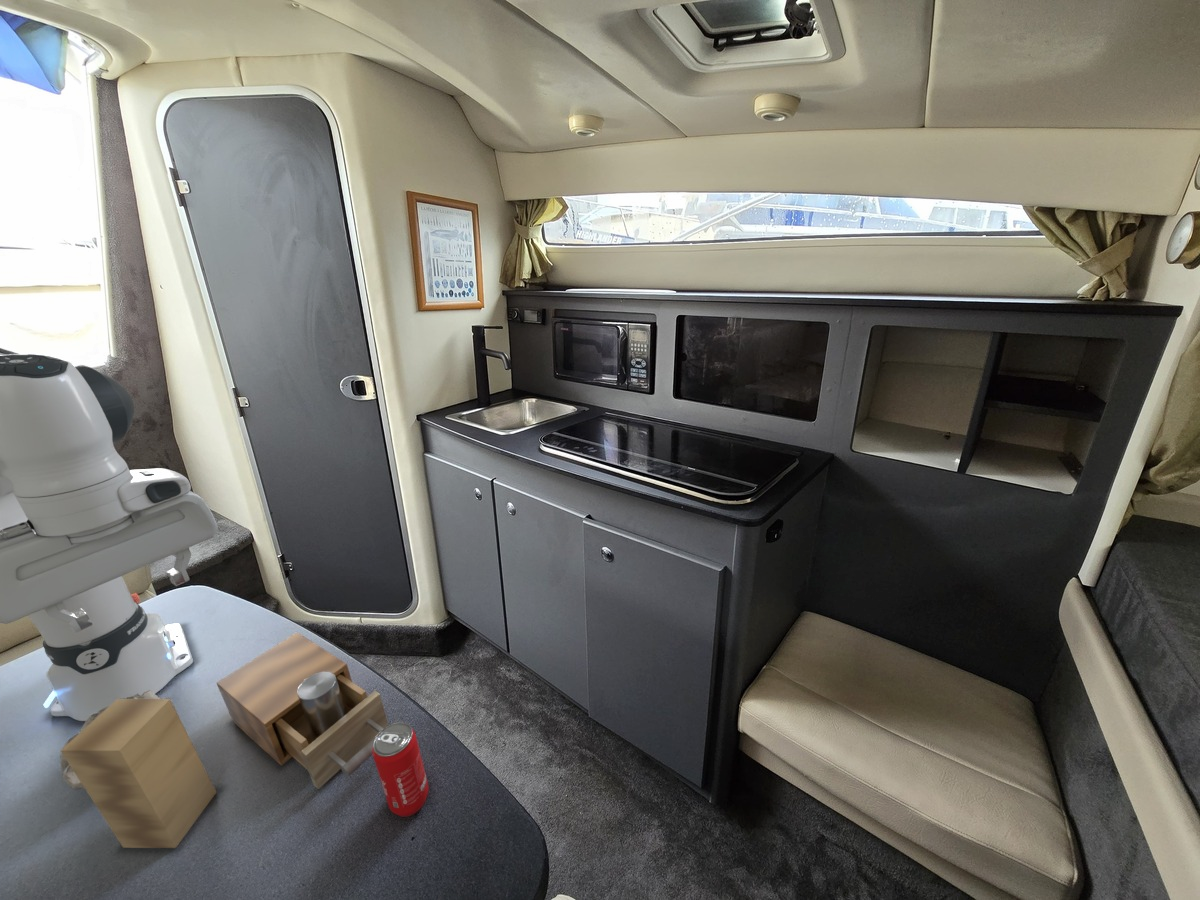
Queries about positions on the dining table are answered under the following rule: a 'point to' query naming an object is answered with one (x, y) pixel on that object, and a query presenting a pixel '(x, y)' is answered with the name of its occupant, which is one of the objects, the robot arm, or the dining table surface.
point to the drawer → (334, 734)
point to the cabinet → (274, 688)
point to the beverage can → (400, 769)
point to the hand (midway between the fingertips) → (134, 603)
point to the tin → (321, 702)
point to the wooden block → (141, 772)
